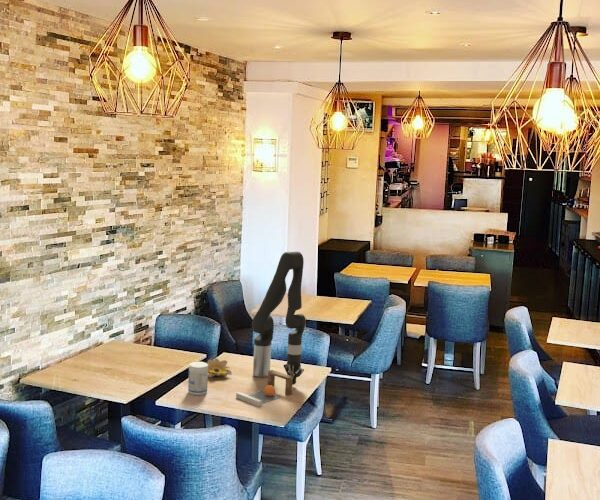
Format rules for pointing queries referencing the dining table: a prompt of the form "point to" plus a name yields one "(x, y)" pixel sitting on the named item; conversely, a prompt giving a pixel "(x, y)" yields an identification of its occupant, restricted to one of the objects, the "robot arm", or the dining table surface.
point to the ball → (269, 390)
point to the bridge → (288, 378)
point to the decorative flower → (217, 368)
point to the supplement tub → (198, 378)
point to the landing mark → (263, 396)
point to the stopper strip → (249, 399)
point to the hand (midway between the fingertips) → (293, 384)
